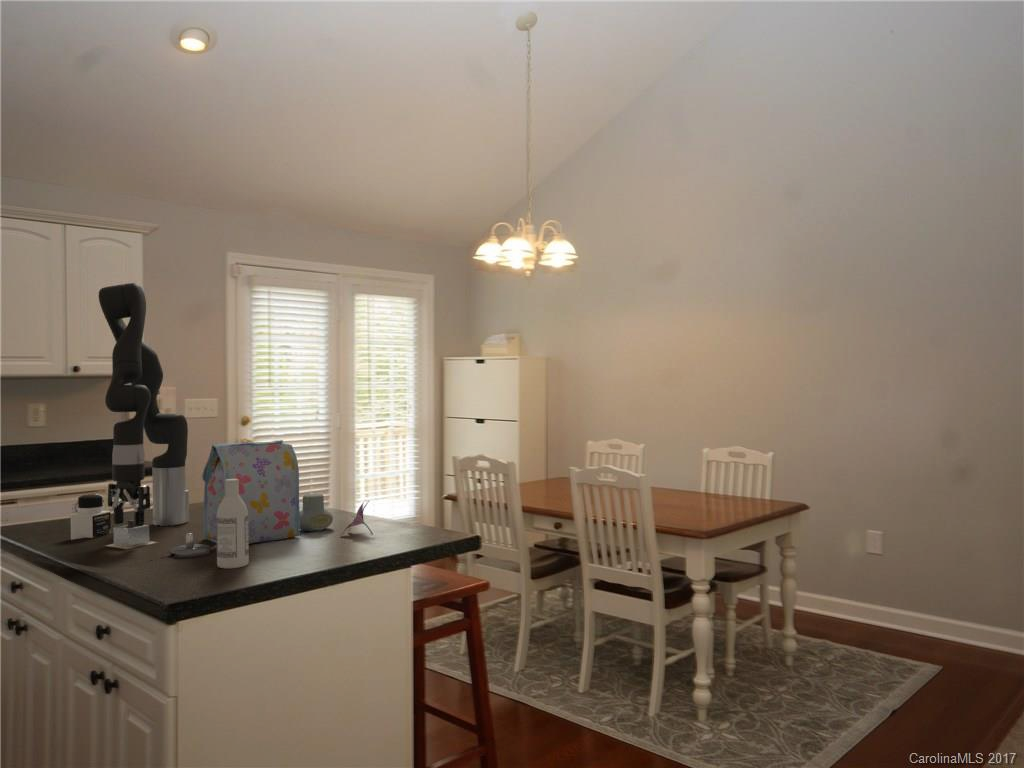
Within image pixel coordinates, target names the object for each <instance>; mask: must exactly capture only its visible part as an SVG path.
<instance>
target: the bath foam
mask: <svg viewBox="0 0 1024 768" xmlns="http://www.w3.org/2000/svg"><path fill="white" fill-rule="evenodd" d="M225 494H226V495H225V497H224V499H223V500H222V502H221V503H220V505H219V507H218V510H217V517H216V525H217V543H216V564H217V565H216V566H217V567H218V568H221V569H231V570H232V569H238V568H239V569H240V568H244V567H246V566H248V564H249V562H250V560H249V559H250V558H249V556H250V555H249V551H250V550H249V548H250V546H249V540H248V511H247V507H246V505H245V503H244V502H243V500H242V499H241V497H240V496H239V480H238V479H227V480H225Z"/></svg>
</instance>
